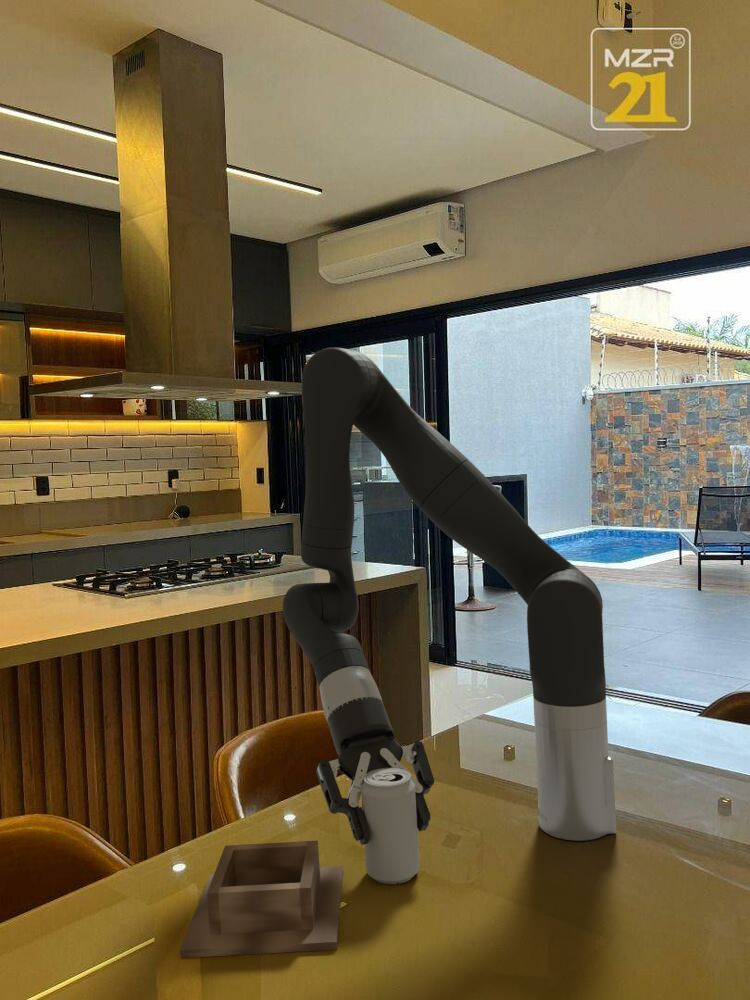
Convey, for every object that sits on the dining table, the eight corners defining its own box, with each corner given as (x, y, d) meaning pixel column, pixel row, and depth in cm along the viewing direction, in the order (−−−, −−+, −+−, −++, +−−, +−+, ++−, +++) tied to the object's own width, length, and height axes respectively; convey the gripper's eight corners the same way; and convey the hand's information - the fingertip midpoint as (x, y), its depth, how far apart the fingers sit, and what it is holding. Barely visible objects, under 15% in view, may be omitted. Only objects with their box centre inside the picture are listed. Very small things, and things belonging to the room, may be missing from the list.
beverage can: (415, 888, 100) (409, 786, 99) (361, 886, 101) (355, 785, 100) (423, 862, 106) (418, 766, 105) (372, 860, 107) (366, 765, 106)
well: (343, 872, 104) (340, 829, 104) (337, 949, 88) (333, 899, 88) (210, 879, 104) (207, 837, 104) (180, 957, 88) (176, 907, 88)
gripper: (306, 704, 106) (344, 835, 96) (412, 686, 112) (459, 808, 101) (296, 734, 112) (331, 861, 101) (398, 716, 117) (442, 834, 107)
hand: (395, 834), depth 102 cm, fingers open, 7 cm apart
